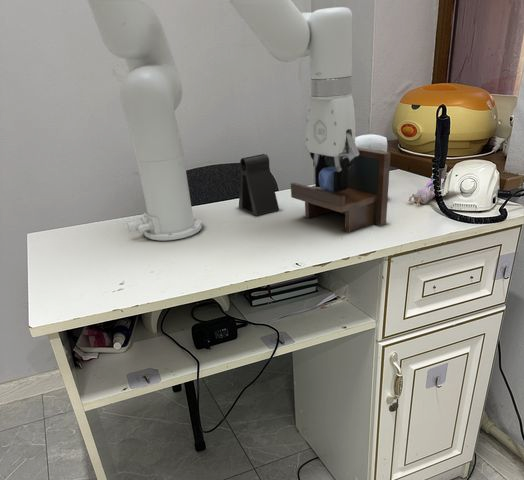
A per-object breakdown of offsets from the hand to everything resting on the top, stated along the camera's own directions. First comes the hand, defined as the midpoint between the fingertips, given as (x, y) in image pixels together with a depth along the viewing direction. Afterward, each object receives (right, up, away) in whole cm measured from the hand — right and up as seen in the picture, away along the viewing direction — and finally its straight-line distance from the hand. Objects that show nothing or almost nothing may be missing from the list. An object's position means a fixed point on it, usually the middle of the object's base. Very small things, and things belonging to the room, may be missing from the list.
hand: (331, 187), depth 100 cm
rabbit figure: (+26, +1, +13) cm, 29 cm away
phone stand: (-15, 0, +16) cm, 22 cm away
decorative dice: (0, -1, 0) cm, 1 cm away
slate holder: (+1, -6, +4) cm, 7 cm away
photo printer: (+12, +9, +26) cm, 30 cm away
